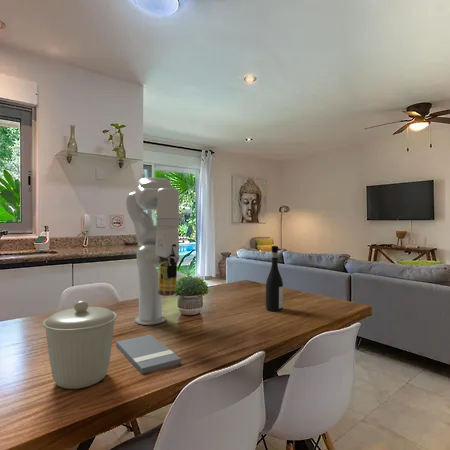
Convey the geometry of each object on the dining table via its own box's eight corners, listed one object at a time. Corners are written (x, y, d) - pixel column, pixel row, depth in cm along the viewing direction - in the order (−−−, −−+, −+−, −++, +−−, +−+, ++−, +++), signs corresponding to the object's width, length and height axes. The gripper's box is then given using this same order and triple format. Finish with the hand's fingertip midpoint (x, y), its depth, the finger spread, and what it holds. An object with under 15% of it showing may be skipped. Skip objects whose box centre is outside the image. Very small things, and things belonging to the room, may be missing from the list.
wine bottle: (282, 307, 161) (282, 245, 161) (283, 312, 153) (284, 247, 153) (265, 307, 162) (266, 245, 161) (265, 311, 154) (266, 246, 153)
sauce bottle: (158, 297, 112) (158, 238, 112) (157, 292, 118) (157, 236, 118) (178, 295, 114) (178, 237, 113) (175, 291, 120) (176, 236, 119)
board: (116, 345, 112) (116, 341, 112) (150, 338, 119) (150, 334, 119) (141, 373, 92) (141, 368, 92) (180, 363, 99) (180, 358, 99)
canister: (81, 404, 77) (81, 313, 77) (26, 389, 84) (25, 305, 83) (130, 371, 94) (130, 296, 94) (81, 360, 101) (81, 291, 100)
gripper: (148, 223, 120) (148, 272, 121) (168, 225, 106) (168, 281, 107) (167, 223, 125) (167, 271, 125) (189, 224, 110) (188, 278, 111)
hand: (167, 275), depth 116 cm, fingers closed on sauce bottle, 6 cm apart
